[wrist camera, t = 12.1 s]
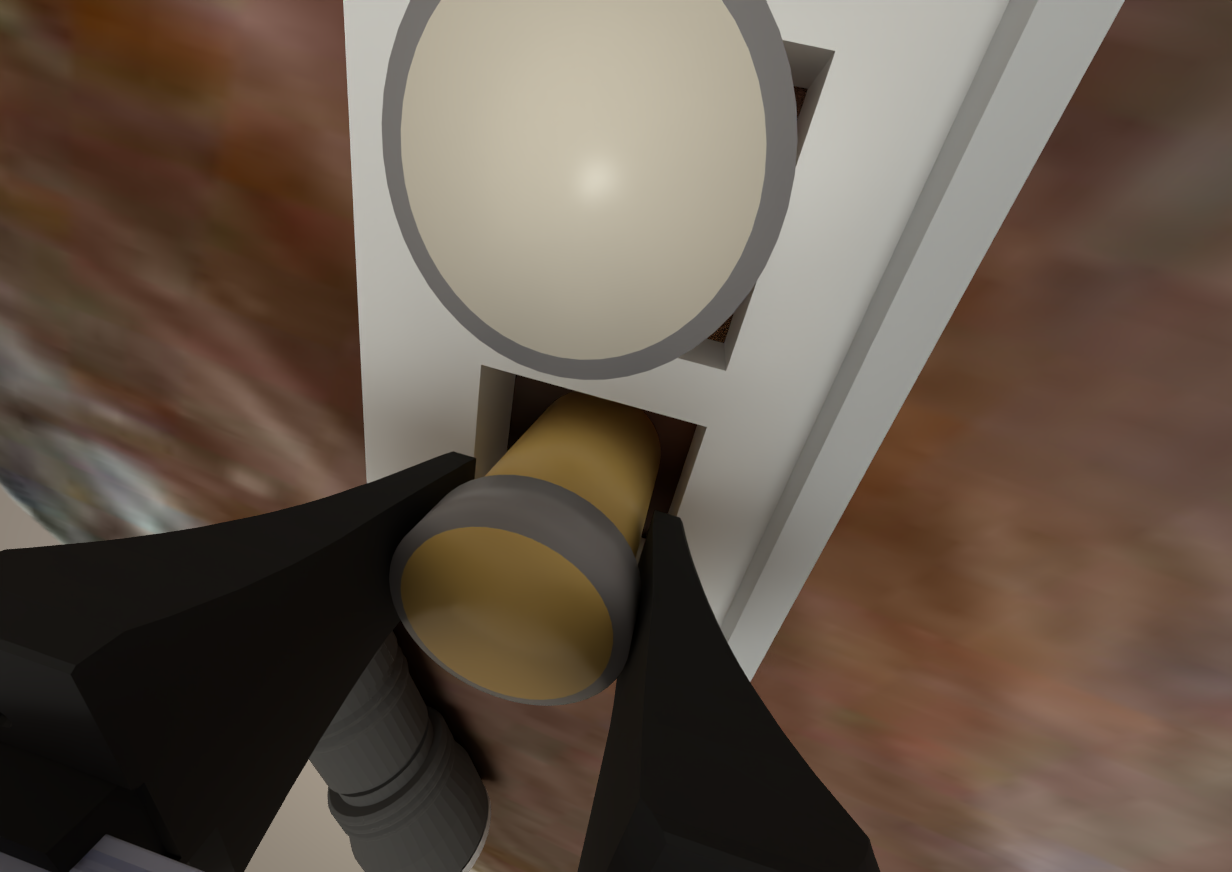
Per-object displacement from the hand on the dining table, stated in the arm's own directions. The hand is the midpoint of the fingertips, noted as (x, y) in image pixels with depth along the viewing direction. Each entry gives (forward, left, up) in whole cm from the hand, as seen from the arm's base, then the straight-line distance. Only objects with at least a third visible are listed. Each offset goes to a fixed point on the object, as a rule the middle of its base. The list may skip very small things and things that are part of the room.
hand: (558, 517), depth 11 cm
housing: (0, -4, -4) cm, 5 cm away
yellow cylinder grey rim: (0, 0, -4) cm, 4 cm away
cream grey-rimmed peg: (0, -7, -4) cm, 8 cm away
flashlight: (+6, +15, -4) cm, 17 cm away
